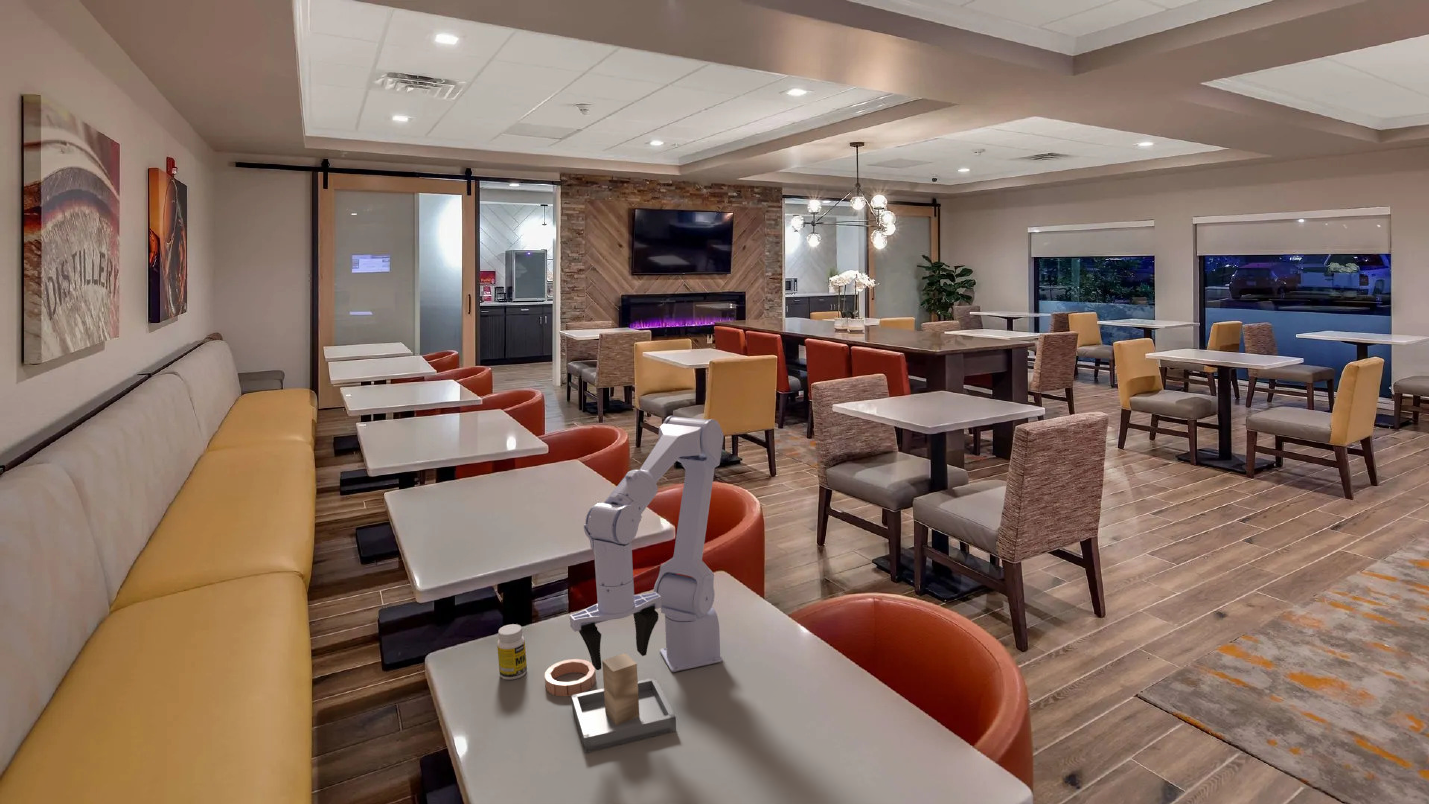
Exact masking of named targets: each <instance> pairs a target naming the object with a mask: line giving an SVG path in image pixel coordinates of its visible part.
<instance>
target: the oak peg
mask: <svg viewBox="0 0 1429 804" xmlns="http://www.w3.org/2000/svg"><path fill="white" fill-rule="evenodd" d="M601 666H602V678H603V679H602V681H603V688H604V697H605V713H606V714H607V715H608V716H609V717H610V719H611V720H612V721H613V722H614V723H615V724H616V725H618V724H621V723H623V722H626V721H629V720H631V719H634V718H636V717H639V697H638V681H639V680H638V679H639V678H638V663H637V662H636V661H634V659H632V658H631V657H630V656H629V655H628V654H627V653H626V652H625V653H624V652H623V653H621V654H617V655H615V656H612V657H609V658H605V659H603V660H602V659H601Z"/></svg>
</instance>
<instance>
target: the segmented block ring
mask: <svg viewBox="0 0 1429 804" xmlns="http://www.w3.org/2000/svg"><path fill="white" fill-rule="evenodd" d="M571 673H578V674H579V673H581V674H583V675H584V676H583V677H581V678H579V679H578V680H577V679H576V680H572V681H557V680H556V679H557V678H559V677H560V676H563V675H565V674H566V675H567V674H571ZM596 676H597V674H596V669H595V668H594V666H593V665H592V661H588V660H586V659H581V658H580V659H579V658H573V659H571V658H570V659H565V660H561V661H558V662H556V663H554V664H552V665H550V666H549V667H548V668H547V669H546V671H545V672H544V684H545V690H546V691H547V692H548V693H550V694H551V695H553V696H556V697H571V695H575V694H580V693H584V692H588V691H590V689H592V688H593V687H594V685H595V684H596V682H597V677H596Z"/></svg>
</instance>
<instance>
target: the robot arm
mask: <svg viewBox="0 0 1429 804" xmlns="http://www.w3.org/2000/svg"><path fill="white" fill-rule="evenodd" d="M724 436H725V435H724V433H723V430H722V427H721V425H720V423H719V422H718V420H716V419H713V418H709V419H704V418H694V417H683V416H682V417H681V416H676V415H669V416H667V417H666V418H665V419H664V421H663V423H662V424H661V425H660V426H659V429H658V440H657V442H656V444H655V445H654V447H653V448H652V450H651V451H650V453H649V454H648V456H647V458H646V459H645V460H644V462H643V463H642V465H641V467H639V468H640V469H631V470H630V471H627V473H626V474H625V475H624V477H623V478H622V479H621V480H620V482H619V483H618V485H616V487H615V488H614V489H613V490H612V492H611V493H610V494H609V495H608V497H607V498H606V499H605V500H604V501H601V502H598V503H596V504H595V505H592V506H591V508H589V510H588V511H587V513H586V516H585V517H586V518H585V523H584V524H583V531H584V533H585V535H586V537H587V538H588V539H589V540H588V541H589V543H590V544H589V545H590V549H591V550H592V551H593V554H594V569H595V583H596V584H595V585H596V596H597V599H596V600H597V603H596V604H593V605H591V606H589V607H587V608H585V609H582V610H580V611H579V612H576V613H572V614H570V615H569V627H570V628H571V630H572V631H573V632H578V633H579V635H580V636H581V638H582V640H583V642H584V644H585V646H586V649H587V650H588V654H589V656H590V659H591V661H590V662H591V663H592V665H593V666H594V668H595V671H600V670H602V656H601V639H602V633H601V632H600V631H599V630H598V626H597V625H596V624H600V623H603V622H607V621H612V620H620V619H624V618H627V617H630V616H632V615H633V619H634V621H633V622H634V627H635V640H636V641H635V642H636V643H635V644H636V645H635V646H636V651H637V652H638V653H639V654H640V655H641V656H642V657H644V656H647V652H648V647H649V642H650V638H651V635H652V632H653V630H654V628H655V626H656V624H657V622H658V621H659V613H658V611H656V610H658V609H660V613H661V614H664V621H665V622H664V627H665V646H666V647H665V648H663V647H662V648H660V649H659V653H660V655H661V656H662V658H663V660H664V661H665V663H666V665H667V667H668V668H669V670H670V672H671V673H674V672H680V671H685V670H689V669H693V668H698V667H704V666H709V665H712V664H716V663H721V662H722V661H723V659H722V657H721V640H720V639H721V637H720V632H721V631H720V623H719V618H718V615H717V612H716V610H715V608H714V607H713V604H714V603H715V602H714V601H715V587H714V584H715V583H714V582H715V581H714V580H715V573H714V572H713V571H712V570H711V569H710V568H709V567H708V566H707V564H706V563H705V562H704V561H703V555H704V547H705V541H706V533H707V525H708V518H709V513H710V512H709V511H710V504H711V497H712V491H713V490H712V489H713V483H714V476H715V468H717V467H718V466H720V463H721V458H722V451H723V444H724ZM676 462H679V463H681V465H682V467H683V469H684V470H685V472H684V481H683V486H682V487H683V488H682V495H681V501H680V509H679V515H678V521H677V531H676V536H675V542H674V543H675V544H674V550H673V551H674V552H673V556H672V557H671V558H670V559H669V560H667V561H666V562H664V563H663V564H661V565H660V568H659V574H658V577H657V579H656V581H655V584H654V587H653V592H650V593H644V594H635V586H634V585H635V584H634V569H633V566H634V565H633V551H632V541H633V540H634V539H635V538H636V536H637V533H638V530H639V524H640V522H641V521H642V518H643V515H642V514H643V513H644V511H645V510H646V509H647V508H648V506H649V505H650V503H652V501H653V500H654V498H655V497H656V496H657V494H658V485H657V482H659V480H660V479H661V478H662V477H663V476H664V475H665V474H666V472H668V470H669V469H670V468H671V467H672V466H673V465H674V464H675V463H676Z"/></svg>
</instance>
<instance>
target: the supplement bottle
mask: <svg viewBox="0 0 1429 804" xmlns="http://www.w3.org/2000/svg"><path fill="white" fill-rule="evenodd" d="M522 628H523V627H522V626H521V625H520V624H518V623H516V624H514V623H512V624H506V625H503V626H502V627H500V628H499V629H498V641H497V643H496V646H497V647H496V648H497V658H498V669H499V671H498V672H499V676H500V678H502V679H503V680H517V679H520V678H522V677H523V676H525V674H526V673H527V670H528V666H527V665H528V664H527V654H526V653H527V652H526V640H525V638H524V636H523V629H522Z"/></svg>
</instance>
